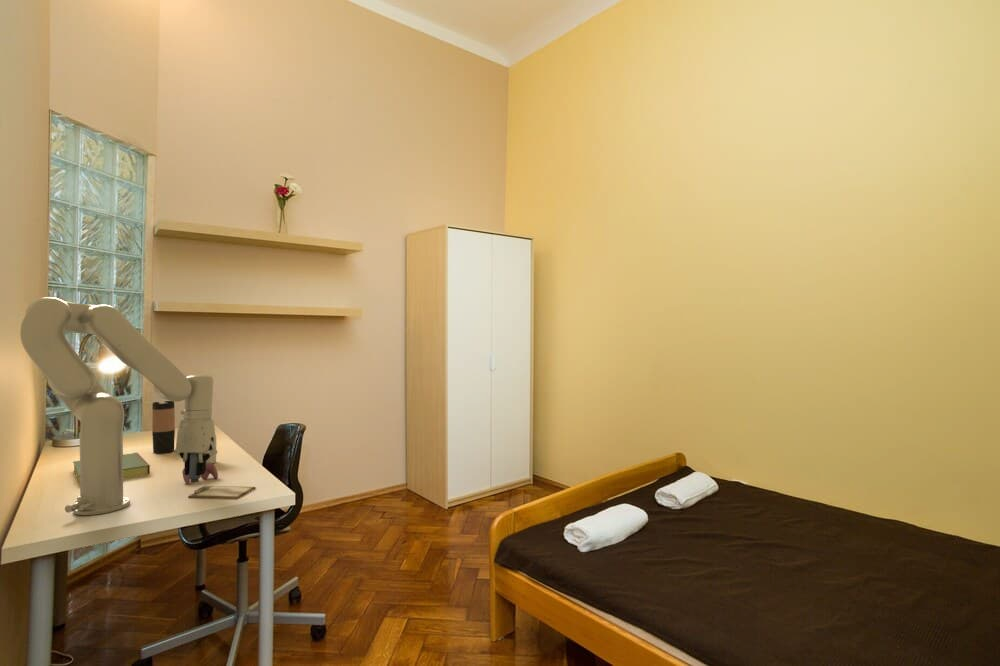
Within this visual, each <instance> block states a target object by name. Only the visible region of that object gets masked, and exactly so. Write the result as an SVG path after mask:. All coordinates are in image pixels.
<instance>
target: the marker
mask: <svg viewBox="0 0 1000 666" xmlns="http://www.w3.org/2000/svg"><path fill="white" fill-rule="evenodd" d="M197 463H199V453H190V462H189V479H190V482H189V483H196V482H199V480H200V479H202V478H201V475H200V476H197V475H196V473H197Z"/></svg>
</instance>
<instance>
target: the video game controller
mask: <svg viewBox="0 0 1000 666" xmlns="http://www.w3.org/2000/svg"><path fill="white" fill-rule="evenodd" d="M181 473H182V477H183V481H184V483H185V484H186V485H189V484H190V483H191V482H190V479H189V475H185V471H184V468H183V469H182V472H181ZM210 475H212V477H213V478H214V479H215V478H217V479H218V477H219V473H218V471H217V468H216V466H215V463H214V464H212V463H211V462H206V471H205V474H203V475H201V478H200V479H202V480H205V478H206V479H208V478H209V476H210Z"/></svg>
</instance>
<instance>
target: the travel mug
mask: <svg viewBox="0 0 1000 666" xmlns="http://www.w3.org/2000/svg"><path fill="white" fill-rule="evenodd" d="M151 405H152V406H151V407H152V409H151V410H152V411H151V412H152V413H151V414H152V416H151V418H152V420H151V422H152V423H151V424H152V425H151V427H152V428H151V429H152V431H151V435H152V452H153V454H158V455H161V454H169V453H172V452H175V440H176V439H175V437H176V435H175V434H176V433H175V432H176V430H175V429H176V428H175V425H176V424H175V423H176V422H175V419H176V418H175V413H176V412H175V402H174V401H170V400H166V401H164V402H163V401H162V402H159V401H153V402H152V404H151Z"/></svg>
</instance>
